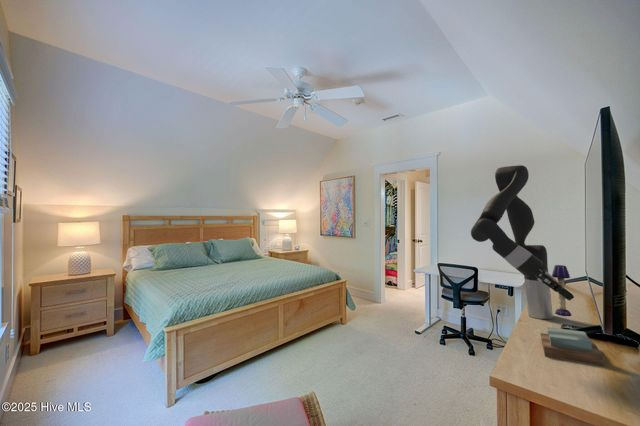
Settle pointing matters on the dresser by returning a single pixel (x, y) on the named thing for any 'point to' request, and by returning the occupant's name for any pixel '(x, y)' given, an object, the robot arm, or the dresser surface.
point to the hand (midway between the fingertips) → (571, 297)
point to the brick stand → (571, 346)
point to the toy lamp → (562, 273)
